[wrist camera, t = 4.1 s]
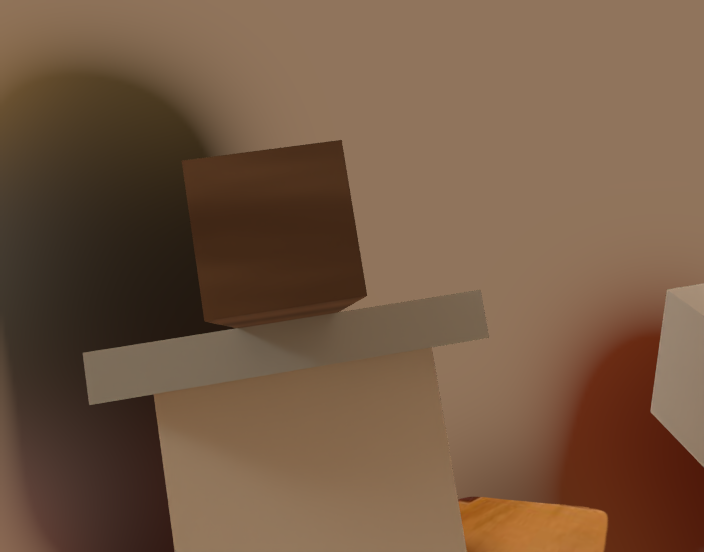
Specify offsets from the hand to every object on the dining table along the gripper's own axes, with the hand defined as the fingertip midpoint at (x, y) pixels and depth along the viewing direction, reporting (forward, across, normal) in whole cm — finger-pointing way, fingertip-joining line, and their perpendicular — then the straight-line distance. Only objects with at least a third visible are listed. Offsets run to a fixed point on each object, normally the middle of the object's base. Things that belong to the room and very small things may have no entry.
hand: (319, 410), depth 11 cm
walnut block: (+17, 0, -7) cm, 18 cm away
